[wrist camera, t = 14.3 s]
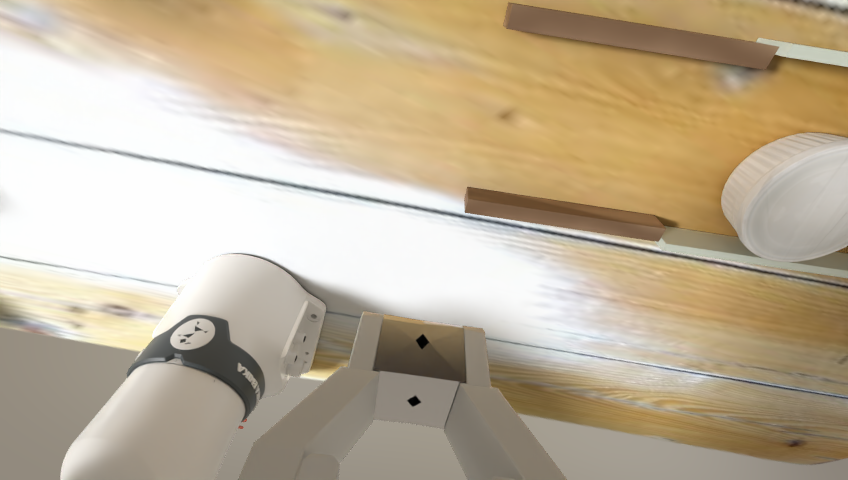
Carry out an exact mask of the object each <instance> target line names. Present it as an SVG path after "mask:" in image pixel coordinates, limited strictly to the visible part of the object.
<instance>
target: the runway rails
mask: <svg viewBox="0 0 848 480" xmlns="http://www.w3.org/2000/svg"><path fill="white" fill-rule="evenodd" d="M503 26H504V27H506V28H507V29H512V30H518V31H525V32H531V33H537V34H543V35H550V36H556V37H562V38H569V39H575V40H581V41H587V42H594V43H600V44H606V45H613V46H619V47H625V48H631V49H638V50H644V51H650V52H657V53H663V54H669V55H676V56H682V57H688V58H694V59H701V60H707V61H713V62H720V63H726V64H732V65H738V66H745V67H751V68H757V69H764V70H766V68H767V66H768V65H769V63H770V62H771V60H772V58H773V57H774V55H775V54H776V52H777V50H778V49H779V47H778V46H773V45H768V44H763V43H758V42H752V41H745V40H739V39H733V38H727V37H720V36H714V35H708V34H702V33H695V32H689V31H683V30H677V29H670V28H664V27H658V26H652V25H646V24H639V23H633V22H627V21H621V20H614V19H608V18H602V17H596V16H589V15H583V14H577V13H571V12H564V11H558V10H552V9H546V8H539V7H533V6H527V5H521V4H514V3H508V7H507V11H506V16H505V20H504V25H503ZM464 201H465V213H470V214H477V215H484V216H490V217H497V218H504V219H510V220H517V221H524V222H530V223H537V224H543V225H550V226H557V227H563V228H570V229H577V230H583V231H590V232H597V233H603V234H610V235H617V236H623V237H630V238H636V239H643V240H650V241H656V242H659V240H660V239H661V237H662V235H663V234H664V232H665V230H666V228H665V227H664V226H663V225H662V223H661V222H660V221H659V220H658V219H657V218H656V216H655V215H649V214H642V213H636V212H629V211H622V210H616V209H609V208H603V207H596V206H589V205H583V204H576V203H570V202H563V201H556V200H550V199H543V198H537V197H530V196H524V195H517V194H510V193H504V192H497V191H491V190H484V189H477V188H471V187H467V191H466V196H465V200H464Z"/></svg>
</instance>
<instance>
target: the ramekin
mask: <svg viewBox="0 0 848 480" xmlns="http://www.w3.org/2000/svg"><path fill="white" fill-rule="evenodd" d="M721 205H722V210H723V212H724V215H725V217H726V218H727V219H728V221H729V222H730V223H731V225H732V226H733V228H734V229H735V230H736V231H737V234H738V237H739V239H740V241H741V242H742V243H743V245H744V246H745V247H746V248H747V249H749V250H750V251H751V252H752V253H754V254H755V255H757V256H759V257H761V258H764V259H767V260H772V261H778V262H798V261H805V260H810V259H814V258H818V257H822V256H825V255H828V254H830V253H833V252H835V251H838V250H840V249H842V248H845V247H847V246H848V138H847V137H842V136H837V135H832V134H824V133H810V132H808V133H799V134H795V135H790V136H787V137H784V138H781V139H778V140H776V141H773V142H771V143H769V144H767V145H765V146H763V147H761V148H759V149H758V150H756V151H755V152H753V153H752V154H750V155H749V156H748V157H747V158H745V159H744V160H743V161H742V162H741V163H740V164H739V165H738V166H737V167H736V168H735V169H734V171H733V172H732V173H731V175H730V176H729V178H728V180H727V182H726V184H725V186H724V189H723V191H722V197H721Z"/></svg>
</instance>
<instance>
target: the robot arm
mask: <svg viewBox="0 0 848 480" xmlns="http://www.w3.org/2000/svg"><path fill="white" fill-rule="evenodd" d="M177 292H178V294H179V297H178V298H177V299H176V301H175V302H174V303H173V305H172V306H171V308H170V309H169V310H168V312H167V313H166V315H165V316H164V317H163V319H162V320H161V322H160V323H159V324H158V326H157V327H156V329H155V330H154V332H153V338H154V339H153V340H152V341H151V342H150V343H149V345H148V346H147V347H146V348H145V349H143V350H142V351H141V352H140V354H139V355H138V356H137V357H136V361H135V362H134V363H133V364H132V366H131V367H130V368H129V370H128V373H127V379H126V380H125V381H124V383H123V384H122V385H121V386H120V388H119V389H118V390H117V391H116V392H115V393H114V395H113V396H112V397H111V398H110V399H109V400H108V402H107V403H106V404H105V405H104V407H103V408H102V409H101V410H100V411H99V413H98V414H97V415H96V416H95V417H94V418H93V420H92V421H91V422H90V423H89V425H88V426H87V427H86V428H85V429H84V431H83V432H82V433H81V434H80V435H79V436H78V438H77V439H76V440H75V441H74V442H73V444H72V445H71V446H70V448H69V450H68V452H67V454H66V456H65V458H64V461H63V464H62V468H61V480H215V479H216V476H217V474H218V472H219V470H220V467H221V465H222V462H223V460H224V458H225V456H226V453H227V451H228V449H229V447H230V444H231V442H232V440H233V438H234V436H235V434H236V432H237V429H238V428H240V429H243V426H239V425H240V423H241V422H246V421H247V419H246V418H247V417H248V416H249V414H250V413H251V412H252V411H253V410H254V409H255V408H256V406H257V404H258V402H259V400H260V399H261V398H266V397H271V396H275V395H278V394H280V393H281V392H283V391H284V389H285V387H286V385H287V383H288V381H289V379H290V376H293V377H300V375H301V374H304V373H308V372H309V370H310V368H311V366H312V364H313V360H314V356H315V352H316V348H317V344H318V340H319V336H320V332H321V328H322V324H323V321H324V317H325V313H326V305H325V304H324V303H323V302H322V301H321V300H319V299H317V298H316V297H314V296H313V295H311V294H309V293H308V292H306V291H305V290H304V289H303V288H302V287H301V285H300V284H299V283H298V282H297V281H296V280H295V279H294V278H293V277H292V276H291V275H290V274H288V273H287V272H286V271H284V270H283V269H281V268H280V267H278V266H276V265H274V264H272V263H270V262H268V261H266V260H263V259H260V258H257V257H253V256H249V255H242V254H226V255H220V256H216V257H214V258H212V259H210V260H208V261H207V262H205V263H204V264H203V265H202V266H201V268H200V269H199V271H198V272H197V274H196V275H195V276H193V277H191V278H188V279H186V280H184V281H182V282H181V284H180V285H179V286H178V288H177ZM373 420H383V421H392V422H401V423H410V424H416V425H422V426H429V427H435V428H441V429H444V432H445V434H446V436H447V438H448V440H449V443H450V445H451V447H452V449H453V451H454V453H455V455H456V457H457V459H458V461H459V463H460V465H461V467H462V469H463V471H464V473H465V475H466V477H467V479H468V480H567V479H566V478H565V476H564V475H563V474H562V472H561V471H560V470H559V468H558V467H557V466H556V464H555V463H554V462H553V460H552V459H551V458H550V457H549V455H548V454H547V453H546V451H545V450H544V449H543V447H542V446H541V445H540V443H539V442H538V441H537V439H536V438H535V437H534V435H533V434H532V433H531V432H530V430H529V429H528V428H527V426H526V425H525V424H524V422H523V421H522V420H521V419H520V417H519V416H518V414H517V413H516V412H515V411H514V409H513V408H512V407H511V405H510V404H509V403H508V401H507V400H506V399H505V397H504V396H503V395H502V393H501V392H500V391H499V390H498V388H493V387H491V381H490V373H489V364H488V356H487V347H486V339H485V332H484V330H483V329H482V328H474V327H467V326H461V325H453V324H446V323H438V322H431V321H424V320H423V321H421V320H415V319H409V318H403V317H398V316H392V315H386V314H378V313H372V312H366V311H363V313H362V315H361V318H360V322H359V326H358V330H357V333H356V337H355V341H354V345H353V348H352V352H351V356H350V360H349V364H348V367H340V368H339V369H338V370H337V371H335V372H334V373H333V374H332V375H331V376H330V377H329V378H327V379H326V380H325V381H324V382H323V383H322V384H321V385H319V386H318V387H317V388H316V389H315V390H314V391H313V392H312V393H310V394H309V395H308V396H307V397H306V398H305V399H304V400H302V401H301V402H300V403H299V404H298V405H297V406H295V407H294V408H293V409H292V410H291V411H290V412H289V413H287V414H286V415H285V416H284V417H283V418H282V419H281V420H280V421H278V422H277V423H276V424H275V425H274V426H273V427H271V428H270V429H269V430H268V431H267V432H266V433H265V434H264V435H262V436H261V437H260V438H259V439H258V440H257V441H256V442H254V444H253V446H252V448H251V451H250V453H249V455H248V457H247V460H246V462H245V464H244V467H243V469H242V471H241V474H240V476H239V479H238V480H339V466H340V463H341V461H342V460H343V459H344V458H345V457H346V455H347V454H348V453H349V452H350V450H351V449H352V448H353V446H354V445H355V444H356V443H357V441H358V440H359V439H360V438H361V436H362V435H363V434H364V433H365V431H366V430H367V429H368V427H369V426H370V425H371V424H372V422H373Z"/></svg>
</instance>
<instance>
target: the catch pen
mask: <svg viewBox="0 0 848 480" xmlns="http://www.w3.org/2000/svg"><path fill="white" fill-rule="evenodd" d="M756 42H758V43H763V44H768V45H773V46H778V47H779V49H778V50H777V52H776V54H775V55H779V56H783V57H789V58H795V59H802V60H808V61H814V62H820V63H827V64H833V65H839V66H845V67H848V52H844V51H838V50H832V49H826V48H820V47H813V46H807V45H801V44H795V43H788V42H782V41H776V40H770V39H763V38H758V39H757V41H756ZM664 227H665V228H666V230H665V232H664V234H663V235H662V237H661V239H660V240H659V242H656V241H655V242H656V244H657V245H658V246H659V248H660V249H661V250H662V251H669V252H676V253H682V254H689V255H696V256H702V257H709V258H716V259H722V260H729V261H736V262H742V263H749V264H756V265H762V266H769V267H776V268H782V269H789V270H796V271H802V272H809V273H816V274H822V275H829V276H835V277H842V278H848V254H847V253H840V252H833V253H830V254H828V255H825V256H822V257H818V258H814V259H810V260H805V261H798V262H778V261H772V260H767V259H764V258H761V257H759V256H757V255H755V254H754V253H752V252H751V251H750V250H749V249H747V248H746V247H745V246H744V245H743V243H742V242H741V241H740V239H739V237H734V236H728V235H721V234H715V233H708V232H701V231H695V230H688V229H682V228H675V227H668V226H664Z"/></svg>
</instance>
